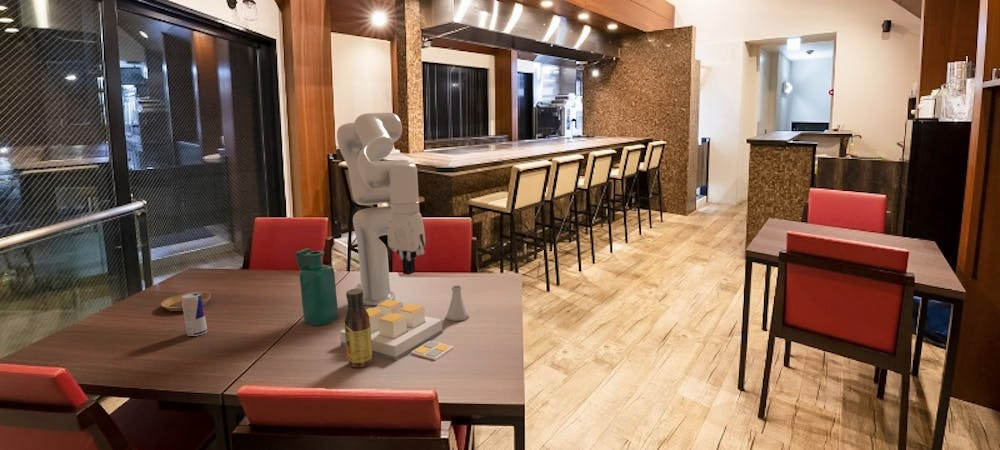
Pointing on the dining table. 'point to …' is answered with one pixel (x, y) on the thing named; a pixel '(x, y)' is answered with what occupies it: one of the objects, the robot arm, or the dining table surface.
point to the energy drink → (194, 314)
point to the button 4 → (413, 315)
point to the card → (432, 350)
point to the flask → (457, 306)
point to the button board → (403, 339)
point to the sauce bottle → (357, 330)
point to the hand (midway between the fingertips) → (409, 273)
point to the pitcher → (317, 288)
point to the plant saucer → (178, 298)
